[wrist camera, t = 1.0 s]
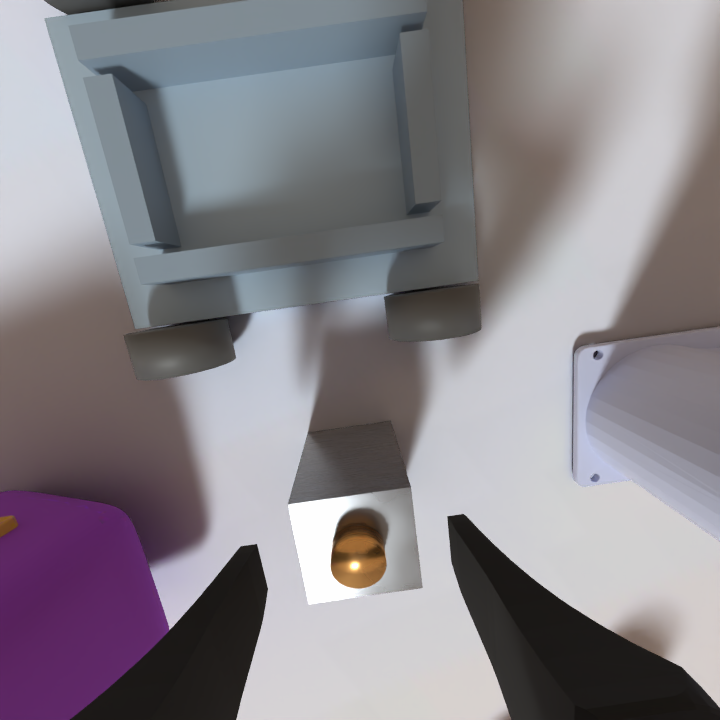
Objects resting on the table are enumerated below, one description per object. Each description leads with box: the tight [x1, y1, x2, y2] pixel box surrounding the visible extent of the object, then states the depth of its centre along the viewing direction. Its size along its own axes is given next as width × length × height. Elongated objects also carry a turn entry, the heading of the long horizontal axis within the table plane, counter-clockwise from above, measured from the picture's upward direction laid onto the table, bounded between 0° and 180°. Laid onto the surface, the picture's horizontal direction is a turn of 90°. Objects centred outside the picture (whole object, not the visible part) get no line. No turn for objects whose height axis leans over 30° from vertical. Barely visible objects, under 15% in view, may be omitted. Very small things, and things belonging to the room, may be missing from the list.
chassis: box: [44, 0, 482, 380], centre depth 13 cm, size 16×16×4 cm
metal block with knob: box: [288, 421, 422, 604], centre depth 15 cm, size 4×4×7 cm
